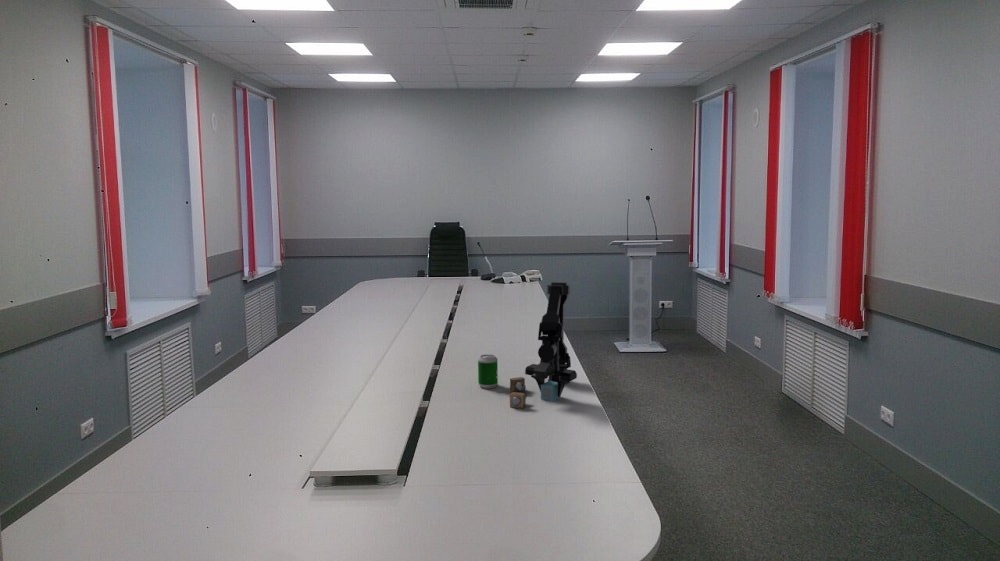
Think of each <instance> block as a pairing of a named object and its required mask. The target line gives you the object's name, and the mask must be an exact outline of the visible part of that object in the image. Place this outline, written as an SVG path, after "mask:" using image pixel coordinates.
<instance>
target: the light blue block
mask: <svg viewBox="0 0 1000 561" xmlns="http://www.w3.org/2000/svg"><path fill="white" fill-rule="evenodd" d="M560 398H561V396H560V397H558V383H557V382H553V381H548V380H547V381H545V383H544V384H542V385H541V392H540V400H541V401H542V400H543V401H548V402H554V401H556V400H558V399H560Z"/></svg>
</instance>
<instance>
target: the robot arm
mask: <svg viewBox="0 0 1000 561" xmlns="http://www.w3.org/2000/svg"><path fill="white" fill-rule="evenodd" d="M546 286H547V289H546V290H547V291H546V292H547V295H548V301H547V302H548V303H547V308H546V313H544V315H542V318H541V321H540V322H539V324H538V325H539V326H538V334H537V340H538V341H541V342H542V343H541V345H540V347H539V348H538V351H537V354H538V357H539V358H540V359H539V360H540V362H539V363H538V364H536V363H535V364H534V363H532V364H529V365H527V366H526V367H525V369H524V374H525V375H528V376H530V377H531V378H533V379H534V380H535V381H536V384H537V386H538V389H539V392H540V393H541V385H542V384H544V383H546V381H545V380H547V382H548V381H553V382H557V383H558V397H560V398H561V395H562V393H563V390H564V389H565V386H566V384H567V383H570V382H572V381H574V380H576V379H577V378H578V372H576V370H572V369H569V368H571V367H572V362H571V361H572V360H571V356H570V354H569V353H568V347H567V345H566V344H565V342H564V336H565V333H564V329H565V327H564V326H565V304H566V303H567V302H568V300H569V295H570V294H571V285H570V284H568V282H566V281H565V282H558V281H552V282H551V283H550V284H548V285H546Z"/></svg>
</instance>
